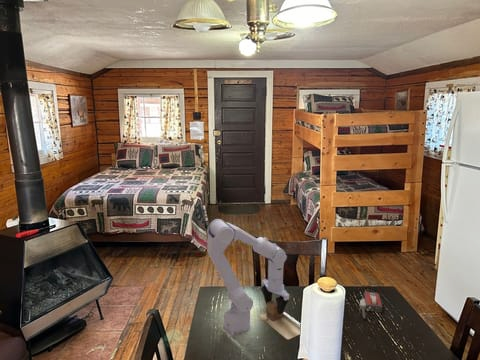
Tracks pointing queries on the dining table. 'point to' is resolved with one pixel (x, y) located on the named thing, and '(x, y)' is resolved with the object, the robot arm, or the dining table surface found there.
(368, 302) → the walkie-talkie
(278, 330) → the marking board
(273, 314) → the brown knobbed block
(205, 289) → the dining table surface
